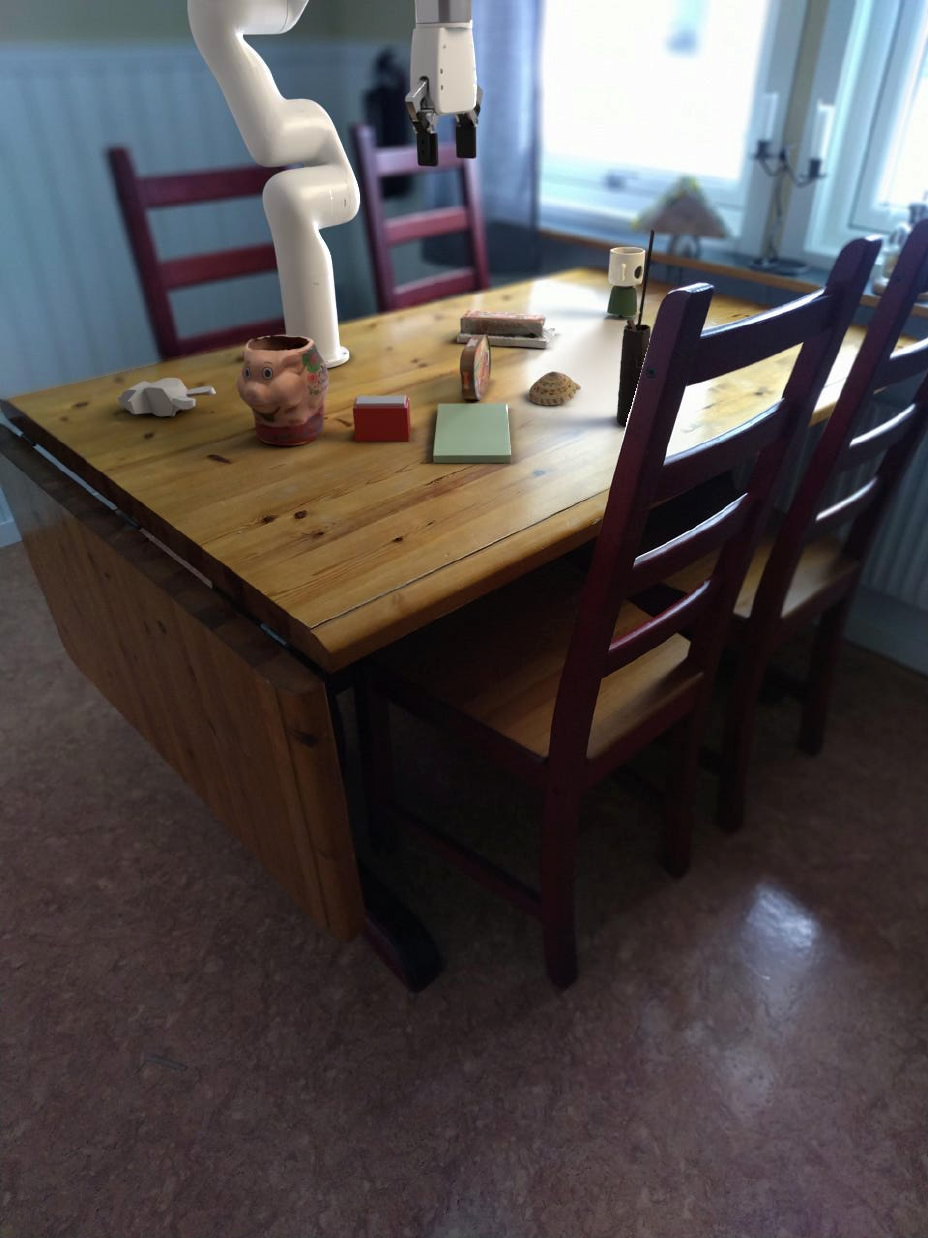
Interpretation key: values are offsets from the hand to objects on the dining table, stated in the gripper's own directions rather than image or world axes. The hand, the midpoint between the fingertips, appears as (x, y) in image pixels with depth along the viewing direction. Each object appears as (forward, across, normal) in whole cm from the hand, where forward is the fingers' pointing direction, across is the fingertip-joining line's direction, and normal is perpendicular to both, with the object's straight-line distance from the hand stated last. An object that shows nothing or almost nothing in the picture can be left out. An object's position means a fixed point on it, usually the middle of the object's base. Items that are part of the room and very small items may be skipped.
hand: (447, 161), depth 121 cm
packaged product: (+35, -33, -10) cm, 49 cm away
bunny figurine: (+35, +29, -37) cm, 58 cm away
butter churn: (+36, -7, +28) cm, 46 cm away
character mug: (+35, -60, +3) cm, 69 cm away
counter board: (+35, +11, +11) cm, 38 cm away
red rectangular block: (+35, +18, -1) cm, 40 cm away
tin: (+35, -5, +1) cm, 36 cm away
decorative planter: (+35, +24, -14) cm, 45 cm away
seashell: (+35, -10, +14) cm, 39 cm away
